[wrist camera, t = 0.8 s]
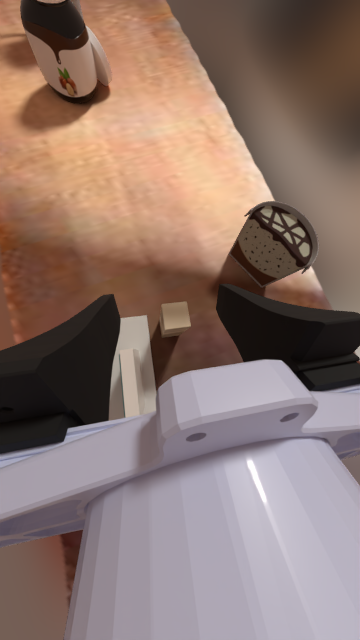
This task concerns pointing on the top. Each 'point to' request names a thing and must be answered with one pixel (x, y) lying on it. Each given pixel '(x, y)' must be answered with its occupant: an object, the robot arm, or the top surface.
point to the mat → (138, 338)
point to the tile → (131, 382)
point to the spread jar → (65, 48)
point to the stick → (174, 319)
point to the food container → (275, 243)
